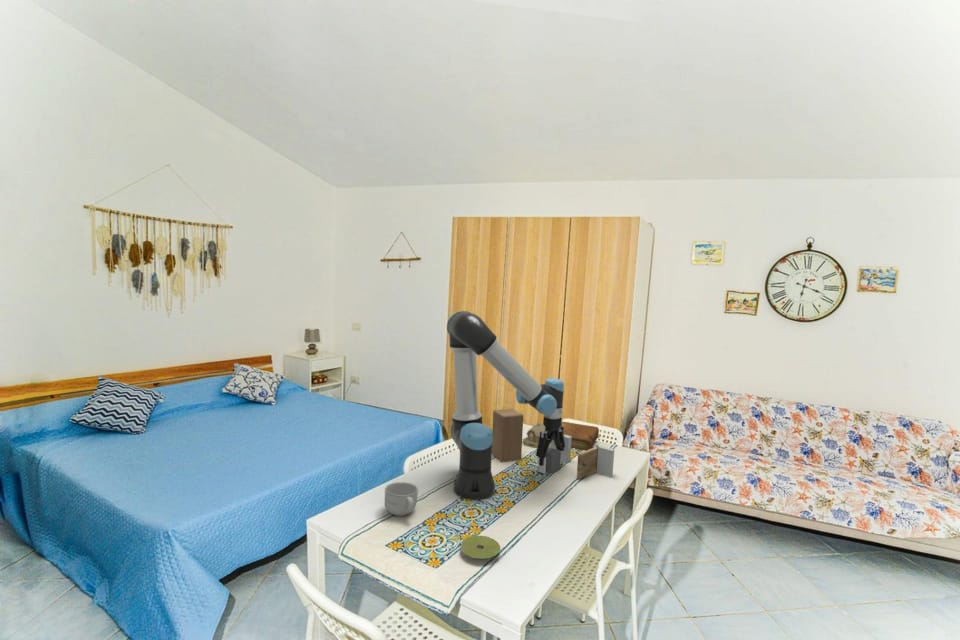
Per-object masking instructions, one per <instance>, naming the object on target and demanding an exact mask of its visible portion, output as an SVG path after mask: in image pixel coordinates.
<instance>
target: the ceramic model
mask: <svg viewBox="0 0 960 640" xmlns="http://www.w3.org/2000/svg"><path fill="white" fill-rule="evenodd" d="M540 432H545V426H544V425H543V423H540V422H536V424H535V425H532V427H531V428H530V429H528V431H527V432H526V435H527V437H525V438H522V445H524V446H527V447H530V448H531V447H532V448H538V443H539V439H540ZM546 439H547V438H546ZM548 440H549V439H548ZM549 445H551V443H550V444H549Z"/></svg>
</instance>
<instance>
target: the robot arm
mask: <svg viewBox="0 0 960 640" xmlns="http://www.w3.org/2000/svg"><path fill="white" fill-rule="evenodd" d="M446 330H447V333H448V337H449V348H450V349H451V350H452V351H453V362H454V363H453V364H454V366H453V367H454V369H453V370H454V393H455V396H454V397H455V412H454V413H453V414H452V420H451V421H452V423H451V426H450V434H451V438H452V441H453V442H454V443H455V444H456V447H457V448H458V450H459V465H458V466H459V468H458V471H457V474H456V478H455V480H454V481H453V492H454V493H455V494H456V495H457V496H458V497H461V498H463V497H464V499H467V498H468V499H467V500H484V499H487V498H490V497H492V496H493V495H494V494H495V492H496V483H495V481H494V477H493V473H492V459H493V457H492V456H493V455H492V442H493V436H492V429H491V428H490V427H489V426H488V425H487V424H483V414H482V412H480V411H479V409H478V408H479V406H478V403H479V402H478V400H479V399H478V375H477V374H478V372H477V369H478V367H477V356H481V357H482V358H484V359H485V360H486V361H487V362H488V363H489V364H490V365H491V366H492V367H493V368H494V369H495V370H496V371H497V372H498V373H499V374H500V375H501V376H502V377H503V378H504V379H505V380H506V381H507V383H509V384H510V385H511V386H512V387H513V388H514V389H515V397H516V398H515V399H516V401H517V403H518V404H522V405H529V406H531V407H532V408H534V409H535V410H536V411H538V413H539V414H542V415H543V419H542V420H543V421H542V425H543V426H544V427H545V432H540V439H539V443H538V447H536V453H535V457H537V458H538V472H539V473H541V474H543V475H544V474H546V472H545V471H546V458H545V455H546V453H547V450H548V447H550V445H551V444H550V443H551V442H552V440H554V443H555V446H556V450H559V451H561V453H562V451H564V448H565V441H564V434H563V429H564V427H562V422H563V418H562V417H563V404H564V394H565V393H564V392H565V389H564V388H565V386H564V381H563V380H562V379H560V378H547V379H546V380H545V381H544V382H545V383H542V384H540V383H539V382H538V381H537V380H536V379H535V378H534V376H532V375H531V374H530V373H529V372H528V371H527V370H526V369H525V368H524V367H523V366H522V365H521V364H520V363H519V362H518V360H517V359H515V358H514V357H513V355H511V353H509V351H507V349H505V347H503V346H502V344H501V343H500V342H499V341H498V337H497V335H496V334H495V333H494V332H493V331H492V330H491V328H490V327H489V326H488V325H487V323H486V322H485V321H484V320H483V319H482V317H480V316H479V315H477V314H476V313H472V312H470V311H468V310H466V311H465V310H461V311H456V312H454V313H452V315H451V316H450V317H449V318H448V319H447V323H446ZM546 438H547V439H546ZM548 439H549V440H548ZM561 465H562V461H561V460H560V467H561Z"/></svg>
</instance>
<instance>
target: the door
mask: <svg viewBox="0 0 960 640" xmlns="http://www.w3.org/2000/svg"><path fill="white" fill-rule="evenodd" d="M598 447H599V444H596V446H593V447H592V449H589V450H586V451H582V452H578V453H577V467H576V479H578V480H580V479H583V478H584V477H588V476H589V475H592V474H594V473H595V472H596V473H597V458H598Z"/></svg>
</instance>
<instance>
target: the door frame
mask: <svg viewBox="0 0 960 640" xmlns="http://www.w3.org/2000/svg"><path fill="white" fill-rule="evenodd" d="M571 440H572V437H571V436H568V435H564V441H565V448H564V451H562V453H561V462H564V463H567V464H568V463H570V462H571V456H572V455H571V453H572V448H571ZM550 448H553V449H556V446H555V443H554V440H552V442H551V444H550ZM614 457H615V449H613V448H611V447H608V446H607V447H606V446H604V445H598V458H597V471H596V474H598V475H601V476H605V477H609V478H611V477H613V475H614V474H613V473H614V462H615V458H614Z"/></svg>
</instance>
